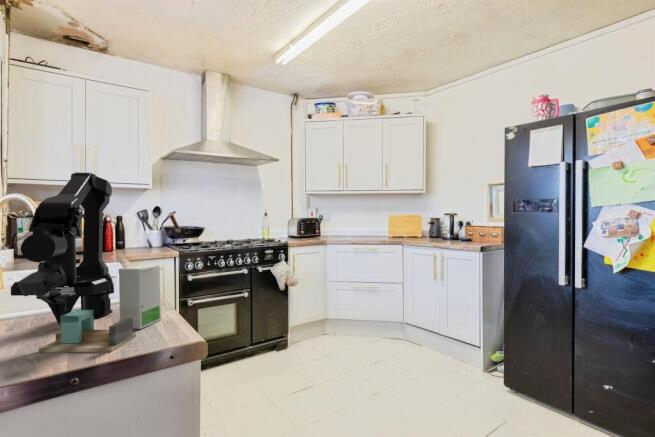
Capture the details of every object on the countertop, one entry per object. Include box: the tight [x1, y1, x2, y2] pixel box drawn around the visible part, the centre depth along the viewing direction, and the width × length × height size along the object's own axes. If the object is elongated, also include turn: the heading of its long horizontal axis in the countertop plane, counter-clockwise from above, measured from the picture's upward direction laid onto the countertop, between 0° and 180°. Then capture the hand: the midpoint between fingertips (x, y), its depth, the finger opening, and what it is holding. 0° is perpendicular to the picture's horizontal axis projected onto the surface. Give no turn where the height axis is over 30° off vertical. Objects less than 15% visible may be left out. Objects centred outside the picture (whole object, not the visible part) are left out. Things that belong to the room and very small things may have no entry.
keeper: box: [60, 309, 95, 343], centre depth 78 cm, size 4×5×6 cm
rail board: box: [38, 317, 137, 353], centre depth 78 cm, size 16×9×5 cm, turn 89°
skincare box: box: [118, 264, 162, 330], centre depth 91 cm, size 8×7×16 cm
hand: (62, 324), depth 78 cm, fingers closed
